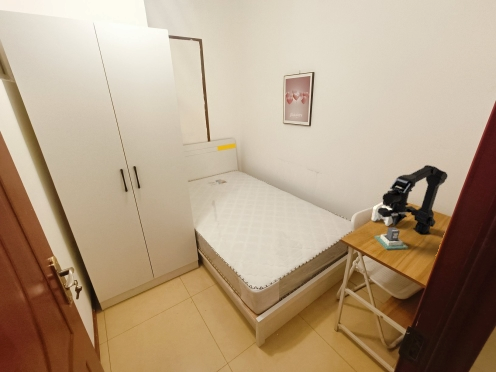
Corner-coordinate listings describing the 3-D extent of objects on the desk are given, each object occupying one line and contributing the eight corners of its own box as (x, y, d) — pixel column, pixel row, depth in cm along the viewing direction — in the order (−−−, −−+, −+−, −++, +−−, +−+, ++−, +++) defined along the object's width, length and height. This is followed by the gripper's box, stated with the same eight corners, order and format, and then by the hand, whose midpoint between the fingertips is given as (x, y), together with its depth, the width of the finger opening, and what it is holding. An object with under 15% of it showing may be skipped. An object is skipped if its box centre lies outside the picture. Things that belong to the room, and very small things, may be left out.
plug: (392, 238, 128) (394, 227, 125) (397, 243, 124) (400, 231, 120) (385, 239, 128) (388, 227, 125) (390, 244, 124) (393, 232, 120)
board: (394, 235, 132) (394, 234, 131) (408, 248, 121) (408, 247, 120) (374, 237, 132) (374, 235, 131) (386, 249, 121) (386, 248, 120)
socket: (393, 236, 129) (393, 233, 129) (401, 244, 122) (402, 241, 122) (380, 237, 129) (380, 234, 129) (388, 245, 122) (389, 242, 122)
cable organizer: (386, 228, 140) (389, 212, 135) (369, 221, 148) (372, 206, 144) (397, 220, 147) (401, 205, 143) (381, 214, 156) (384, 199, 151)
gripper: (407, 192, 123) (401, 216, 129) (374, 194, 123) (370, 218, 129) (422, 201, 113) (415, 227, 119) (386, 203, 113) (381, 229, 119)
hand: (394, 225), depth 122 cm, fingers closed
